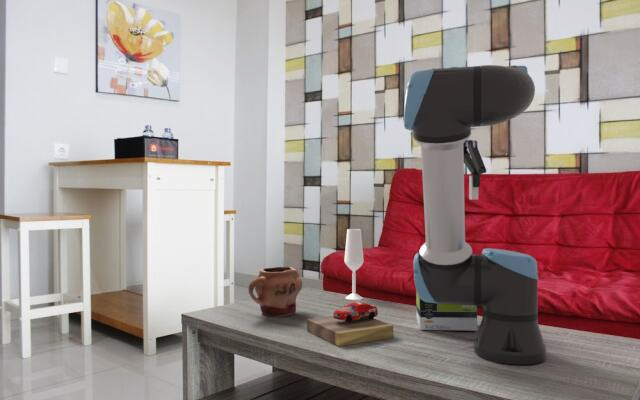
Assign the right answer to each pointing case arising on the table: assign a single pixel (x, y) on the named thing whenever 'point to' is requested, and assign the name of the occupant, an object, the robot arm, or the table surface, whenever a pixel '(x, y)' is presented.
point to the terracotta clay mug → (276, 290)
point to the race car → (356, 312)
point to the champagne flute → (354, 257)
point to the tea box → (445, 316)
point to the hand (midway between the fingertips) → (455, 199)
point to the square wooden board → (349, 330)
